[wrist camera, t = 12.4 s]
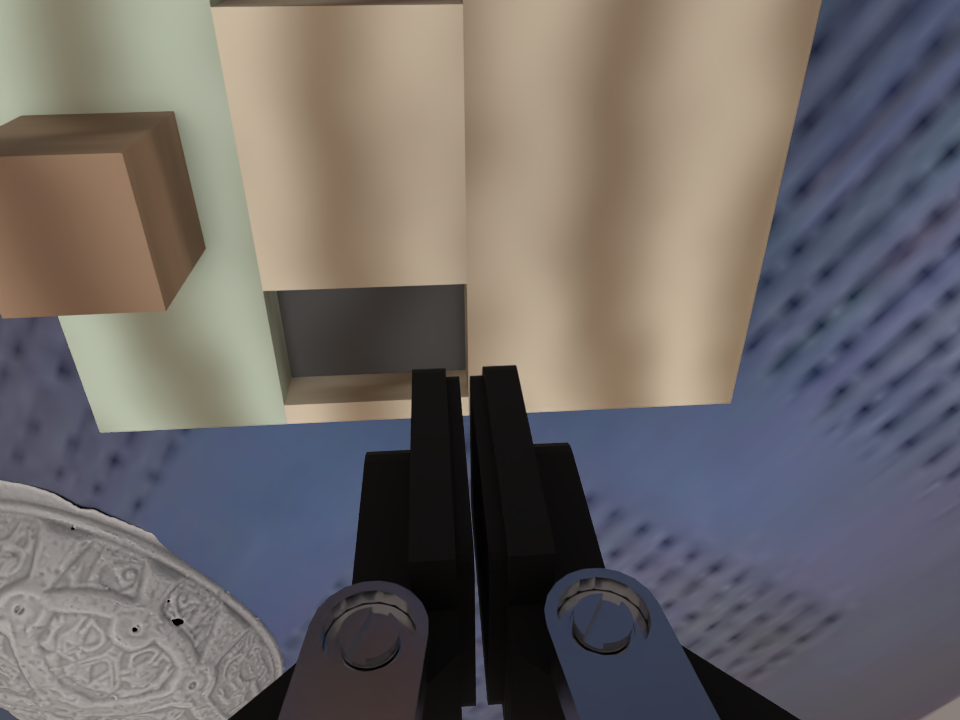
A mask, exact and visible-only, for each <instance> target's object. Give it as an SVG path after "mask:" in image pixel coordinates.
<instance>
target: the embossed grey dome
mask: <svg viewBox="0 0 960 720" xmlns="http://www.w3.org/2000/svg"><path fill="white" fill-rule="evenodd" d="M72 526H73V528H75V530H71V527H72ZM167 600H170V602H169V603H168V602H167ZM177 618H179V619H182V620H183V621H184V623H183V624H181V625H179V626H178V627H177V626H176V625H174V624H173V622H172V621H171V620H173V619H177ZM133 627H136V628H138V630H137V631H136V632H133V631H132V628H133ZM283 665H284V662H283V658H282V654H281V651H280V648H279V646H278V644H277V642H276V640H275V638H274V637H273V635H272V634H271V633H270V632H269V630H268V629H267V628H266V626H265V625H264V624H263V623H262V622H261V621H260V619H259V618H258V617H256V616H255V615H254V614H253V613H252V612H251V611H250V610H249V609H248V608H247V607H246V606H245V605H243V604H242V603H241V602H240V601H238V600H237V599H236V598H235V597H233V596H232V595H231V594H230V592H226V591H225V590H224V589H223V588H222V587H220V586H219V585H218V584H216V583H215V582H214V581H212V580H211V579H209V578H208V577H207V576H205V575H204V574H202V573H201V572H199V571H198V570H196V569H195V568H193V567H192V566H190V565H189V564H187V563H186V562H184V561H183V560H181V559H180V558H178V557H177V556H176V555H174V554H173V553H171V552H170V551H169V550H167V549H166V548H165V547H164V546H163V545H162V544H161V543H160V542H159V541H158V540H157V538H156V537H155V536H154V535H153V534H152V533H148V532H146V531H144V530H143V529H142V528H139V527H136V526H135V525H131V524H128V523H126V522H125V521H121V520H119V519H117V518H115V517H109V516H108V515H104V514H103V513H101V512H99V511H97V510H94V509H80V508H79V507H77V506H75V505H73V504H72V503H71V502H69V501H66V500H65V499H63V498H61V497H60V496H58V495H56V494H55V493H51V492H48V491H47V490H42V489H40V488H37V487H33V486H30V485H26V484H21V483H12V482H10V481H1V480H0V707H1V708H4V709H6V710H8V711H9V712H10V713H11V714H12V715H13V716H15V717H16V718H18V719H20V720H228V719H229V718H230V717H232V716H233V715H234V714H235V713H236V712H238V711H239V710H240V709H241V708H242V707H244V706H245V705H246V704H247V703H248V702H250V701H251V700H252V699H253V698H255V697H256V696H257V695H258V694H259V693H261V692H262V691H263V690H264V689H265V688H267V687H268V686H269V685H270V684H271V683H273V682H274V681H275V680H276V679H278V678H279V677H280V676H281V675H282V674H283V671H284V669H285V667H284V666H283Z"/></svg>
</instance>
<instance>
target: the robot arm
mask: <svg viewBox="0 0 960 720" xmlns="http://www.w3.org/2000/svg"><path fill="white" fill-rule="evenodd" d="M470 454H471V510H472V523H471V511H470V499H469V487H468V475H467V463H466V451H465V439H464V427H463V415H462V403H461V391H460V379H459V376H453V377H446V368H431V369H412V397H411V450H400V451H379V452H367V453H366V456H365V462H364V472H363V482H362V492H361V502H360V511H359V521H358V531H357V541H356V551H355V561H354V570H353V580H352V585H351V586H348V587H345V588H343V589H341V590H340V591H338V592H337V593H335V594H333V595H332V596H330V597H329V598H328V599H327V600H326V601H325V602H324V603H323V604H322V605H321V606H320V607H319V608H318V609H317V611H316V613H315V615H314V617H313V618H312V620H311V622H310V624H309V627H308V630H307V633H306V636H305V639H304V642H303V645H302V648H301V651H300V654H299V657H298V660H297V663H296V664H295V665H293V666H292V667H291V668H290V669H288V670H287V671H286V672H285V673H284V674H282V675H281V676H280V677H279V678H278V679H276V680H275V681H274V682H273V683H271V684H270V685H269V686H268V687H267V688H265V689H264V690H263V691H262V692H261V693H259V694H258V695H257V696H256V697H255V698H253V699H252V700H251V701H250V702H248V703H247V704H246V705H245V706H244V707H242V708H241V709H240V710H239V711H238V712H236V713H235V714H234V715H233V716H232V717H230V718H229V719H228V720H462V709H461V707H465V706H476V669H475V574H474V550H473V537H474V548H475V560H476V572H477V584H478V596H479V608H480V619H481V631H482V643H483V655H484V667H485V679H486V690H487V701H488V705H494V704H502V707H503V717H504V720H800V719H798V718H797V717H795V716H793V715H792V714H790V713H789V712H787V711H786V710H784V709H782V708H781V707H779V706H778V705H776V704H774V703H773V702H771V701H770V700H768V699H766V698H765V697H763V696H762V695H760V694H758V693H757V692H755V691H754V690H752V689H750V688H749V687H747V686H746V685H744V684H742V683H741V682H739V681H738V680H736V679H734V678H733V677H731V676H730V675H728V674H726V673H725V672H723V671H722V670H720V669H718V668H717V667H715V666H714V665H712V664H710V663H709V662H707V661H706V660H704V659H702V658H701V657H699V656H698V655H696V654H695V653H693V652H691V651H690V650H688V649H687V648H685V647H683V646H682V645H681V644H680V642H679V641H678V639H677V637H676V635H675V633H674V631H673V629H672V627H671V625H670V624H669V622H668V620H667V618H666V616H665V614H664V612H663V610H662V608H661V607H660V605H659V603H658V602H657V600H656V599H655V598H654V596H653V595H652V593H651V592H650V591H649V590H648V589H647V588H646V587H645V586H643V585H642V584H641V583H640V582H638V581H637V580H636V579H634V578H632V577H630V576H628V575H625V574H623V573H621V572H619V571H614V570H609V569H605V566H604V563H603V559H602V556H601V552H600V548H599V545H598V541H597V538H596V534H595V531H594V527H593V524H592V520H591V516H590V513H589V509H588V506H587V502H586V499H585V495H584V491H583V488H582V484H581V481H580V477H579V474H578V470H577V467H576V463H575V459H574V456H573V452H572V449H571V447H570V445H569V444H568V443H548V444H533V441H532V437H531V432H530V427H529V422H528V418H527V413H526V408H525V403H524V399H523V394H522V389H521V384H520V380H519V375H518V370H517V366H516V365H504V366H483V367H482V375H477V376H470ZM472 525H473V535H472Z"/></svg>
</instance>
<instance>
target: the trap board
mask: <svg viewBox="0 0 960 720" xmlns="http://www.w3.org/2000/svg"><path fill="white" fill-rule="evenodd" d="M821 3H822V0H0V126H1V125H3V124H5V123H7V122H9V121H11V120H13V119H15V118H17V117H19V116H21V115H56V114H91V113H126V112H161V111H174V113H175V118H176V122H177V126H178V131H179V135H180V139H181V144H182V148H183V152H184V156H185V161H186V165H187V169H188V174H189V178H190V182H191V187H192V191H193V195H194V199H195V204H196V208H197V212H198V217H199V221H200V225H201V230H202V234H203V238H204V242H205V247H206V249H205V251H204V252H203V254H202V256H201V257H200V259H199V260H198V262H197V263H196V265H195V267H194V268H193V270H192V271H191V273H190V274H189V276H188V278H187V279H186V281H185V282H184V284H183V285H182V287H181V289H180V290H179V292H178V293H177V295H176V296H175V298H174V300H173V301H172V303H171V304H170V306H169V307H168V309H167V311H160V312H137V313H114V314H91V315H69V316H58V318H59V321H60V323H61V326H62V329H63V332H64V334H65V337H66V340H67V343H68V346H69V348H70V351H71V354H72V357H73V359H74V362H75V365H76V368H77V370H78V373H79V376H80V379H81V381H82V384H83V387H84V390H85V392H86V395H87V398H88V401H89V403H90V406H91V409H92V412H93V415H94V417H95V420H96V423H97V426H98V428H99V431H100V433H103V432H125V431H146V430H168V429H189V428H210V427H232V426H253V425H275V424H296V423H317V422H339V421H360V420H382V419H403V418H411V397H412V369H431V368H446V377H453V376H459V379H460V391H461V403H462V415H463V416H467V415H470V376H477V375H482V367H483V366H504V365H516V366H517V370H518V375H519V380H520V384H521V389H522V394H523V399H524V403H525V408H526V413H531V412H553V411H574V410H596V409H617V408H638V407H660V406H681V405H703V404H724V403H731V400H732V396H733V392H734V387H735V383H736V378H737V374H738V369H739V365H740V361H741V356H742V352H743V347H744V343H745V338H746V334H747V330H748V325H749V321H750V316H751V312H752V308H753V303H754V299H755V294H756V290H757V285H758V281H759V277H760V272H761V268H762V263H763V259H764V255H765V250H766V246H767V241H768V237H769V232H770V228H771V224H772V219H773V215H774V210H775V206H776V201H777V197H778V193H779V188H780V184H781V179H782V175H783V171H784V166H785V162H786V157H787V153H788V148H789V144H790V140H791V135H792V131H793V126H794V122H795V117H796V113H797V109H798V104H799V100H800V95H801V91H802V87H803V82H804V78H805V73H806V69H807V64H808V60H809V56H810V51H811V47H812V42H813V38H814V34H815V29H816V25H817V20H818V16H819V11H820V7H821Z"/></svg>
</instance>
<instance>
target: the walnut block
mask: <svg viewBox="0 0 960 720" xmlns="http://www.w3.org/2000/svg"><path fill="white" fill-rule="evenodd" d="M205 249H206V247H205V242H204V238H203V234H202V230H201V225H200V221H199V217H198V212H197V208H196V204H195V199H194V195H193V191H192V187H191V182H190V178H189V174H188V169H187V165H186V161H185V156H184V152H183V148H182V144H181V139H180V135H179V131H178V126H177V122H176V118H175V113H174V111H161V112H126V113H91V114H56V115H21V116H19V117H17V118H15V119H13V120H11V121H9V122H7V123H5V124H3V125H1V126H0V314H1V316H2V318H23V317H46V316H69V315H91V314H114V313H137V312H160V311H167V309H168V307H169V306H170V304H171V303H172V301H173V300H174V298H175V296H176V295H177V293H178V292H179V290H180V289H181V287H182V285H183V284H184V282H185V281H186V279H187V278H188V276H189V274H190V273H191V271H192V270H193V268H194V267H195V265H196V263H197V262H198V260H199V259H200V257H201V256H202V254H203V252H204V251H205Z"/></svg>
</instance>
